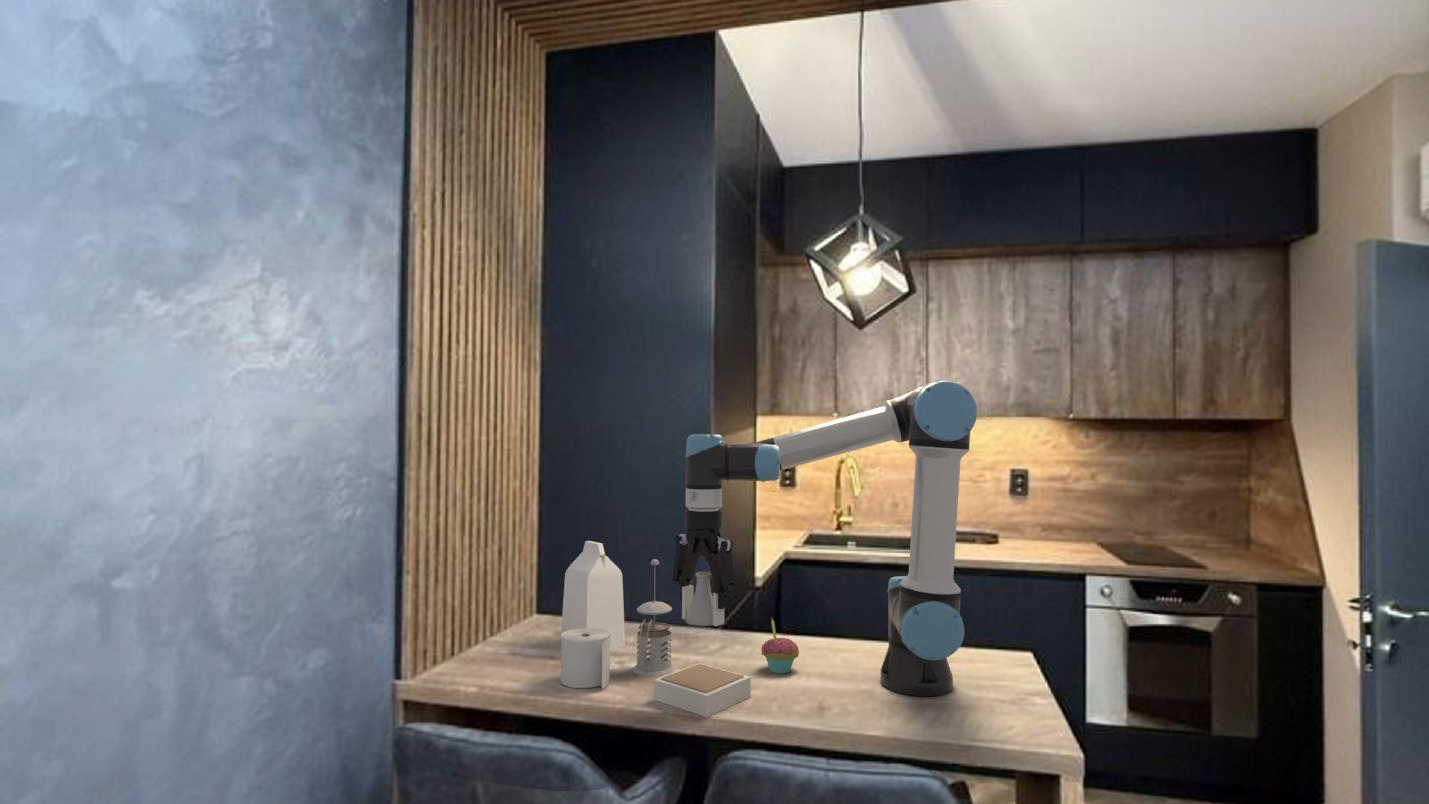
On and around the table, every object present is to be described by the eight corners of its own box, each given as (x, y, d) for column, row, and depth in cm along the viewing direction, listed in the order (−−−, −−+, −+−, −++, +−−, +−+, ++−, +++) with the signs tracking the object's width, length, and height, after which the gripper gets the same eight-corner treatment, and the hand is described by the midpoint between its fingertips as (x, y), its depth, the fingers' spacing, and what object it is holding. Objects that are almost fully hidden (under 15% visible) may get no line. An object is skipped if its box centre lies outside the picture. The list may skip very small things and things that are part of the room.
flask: (720, 627, 147) (720, 576, 147) (684, 627, 147) (684, 576, 148) (720, 618, 154) (721, 570, 155) (686, 617, 154) (686, 569, 155)
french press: (681, 664, 172) (681, 556, 173) (664, 680, 161) (665, 565, 161) (641, 660, 174) (642, 554, 175) (622, 676, 163) (623, 563, 164)
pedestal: (750, 696, 151) (750, 675, 151) (706, 717, 140) (707, 694, 140) (698, 681, 160) (699, 661, 160) (654, 699, 149) (654, 678, 149)
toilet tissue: (576, 670, 168) (577, 625, 168) (623, 676, 163) (624, 630, 164) (550, 685, 158) (551, 638, 158) (600, 692, 153) (600, 643, 154)
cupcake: (768, 677, 163) (768, 622, 163) (756, 665, 171) (756, 613, 172) (804, 674, 165) (804, 620, 166) (790, 662, 173) (790, 611, 174)
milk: (560, 644, 187) (561, 541, 188) (598, 636, 195) (599, 537, 196) (586, 655, 178) (587, 547, 179) (625, 646, 186) (626, 542, 187)
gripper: (655, 506, 155) (654, 616, 154) (731, 514, 142) (730, 634, 141) (679, 504, 161) (678, 609, 160) (754, 511, 148) (753, 626, 147)
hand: (702, 620), depth 151 cm, fingers closed on flask, 8 cm apart
